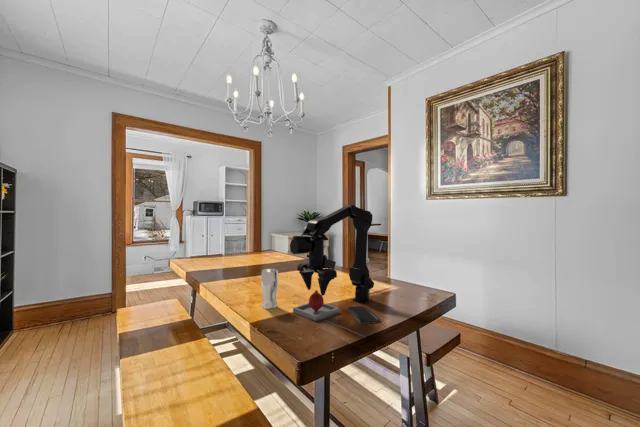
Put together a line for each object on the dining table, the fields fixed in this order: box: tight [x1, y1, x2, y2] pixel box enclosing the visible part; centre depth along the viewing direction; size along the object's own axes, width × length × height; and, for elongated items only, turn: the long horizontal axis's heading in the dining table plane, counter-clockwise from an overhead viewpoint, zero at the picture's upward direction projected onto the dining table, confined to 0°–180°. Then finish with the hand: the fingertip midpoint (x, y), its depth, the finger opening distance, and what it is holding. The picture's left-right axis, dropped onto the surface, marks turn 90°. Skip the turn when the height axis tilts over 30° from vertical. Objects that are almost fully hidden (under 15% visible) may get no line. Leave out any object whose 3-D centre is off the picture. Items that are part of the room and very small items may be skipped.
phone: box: [347, 305, 381, 325], centre depth 106 cm, size 8×1×15 cm
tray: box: [292, 302, 340, 322], centre depth 108 cm, size 13×13×2 cm
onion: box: [308, 289, 325, 311], centre depth 108 cm, size 6×6×8 cm
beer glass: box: [260, 268, 279, 310], centre depth 114 cm, size 7×7×15 cm
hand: (315, 292), depth 108 cm, fingers open, 9 cm apart
